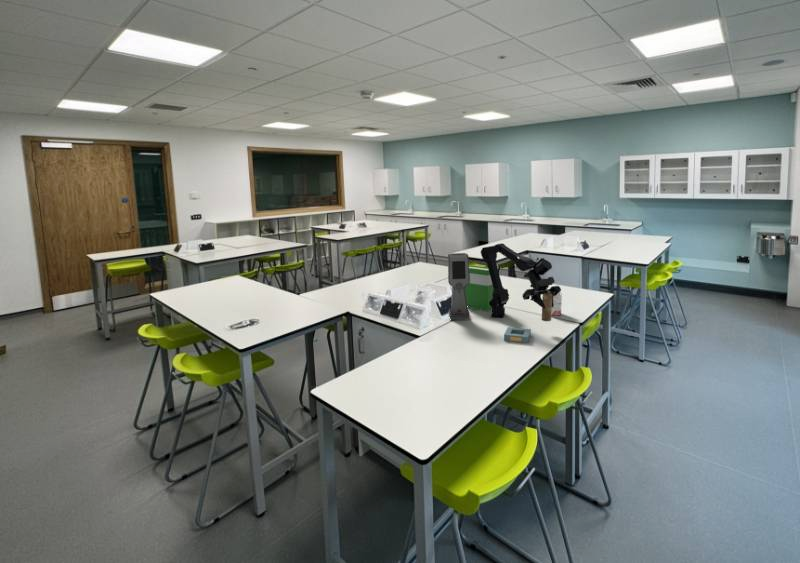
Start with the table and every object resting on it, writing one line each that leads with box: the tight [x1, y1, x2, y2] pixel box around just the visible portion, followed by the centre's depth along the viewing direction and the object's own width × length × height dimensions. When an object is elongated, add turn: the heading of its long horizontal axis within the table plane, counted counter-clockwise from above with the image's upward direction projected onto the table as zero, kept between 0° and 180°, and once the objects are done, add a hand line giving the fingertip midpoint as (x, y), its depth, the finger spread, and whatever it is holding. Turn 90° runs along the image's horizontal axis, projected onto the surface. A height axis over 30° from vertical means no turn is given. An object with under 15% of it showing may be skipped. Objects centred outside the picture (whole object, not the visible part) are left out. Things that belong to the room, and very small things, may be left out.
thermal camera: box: [447, 252, 471, 321], centre depth 237 cm, size 12×13×35 cm
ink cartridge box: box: [547, 288, 563, 316], centre depth 238 cm, size 9×5×15 cm, turn 62°
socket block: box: [503, 326, 532, 344], centre depth 206 cm, size 11×11×3 cm
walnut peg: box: [541, 293, 552, 322], centre depth 209 cm, size 4×4×13 cm
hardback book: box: [466, 264, 493, 312], centre depth 255 cm, size 18×7×24 cm, turn 47°
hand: (548, 307), depth 207 cm, fingers closed on walnut peg, 4 cm apart
